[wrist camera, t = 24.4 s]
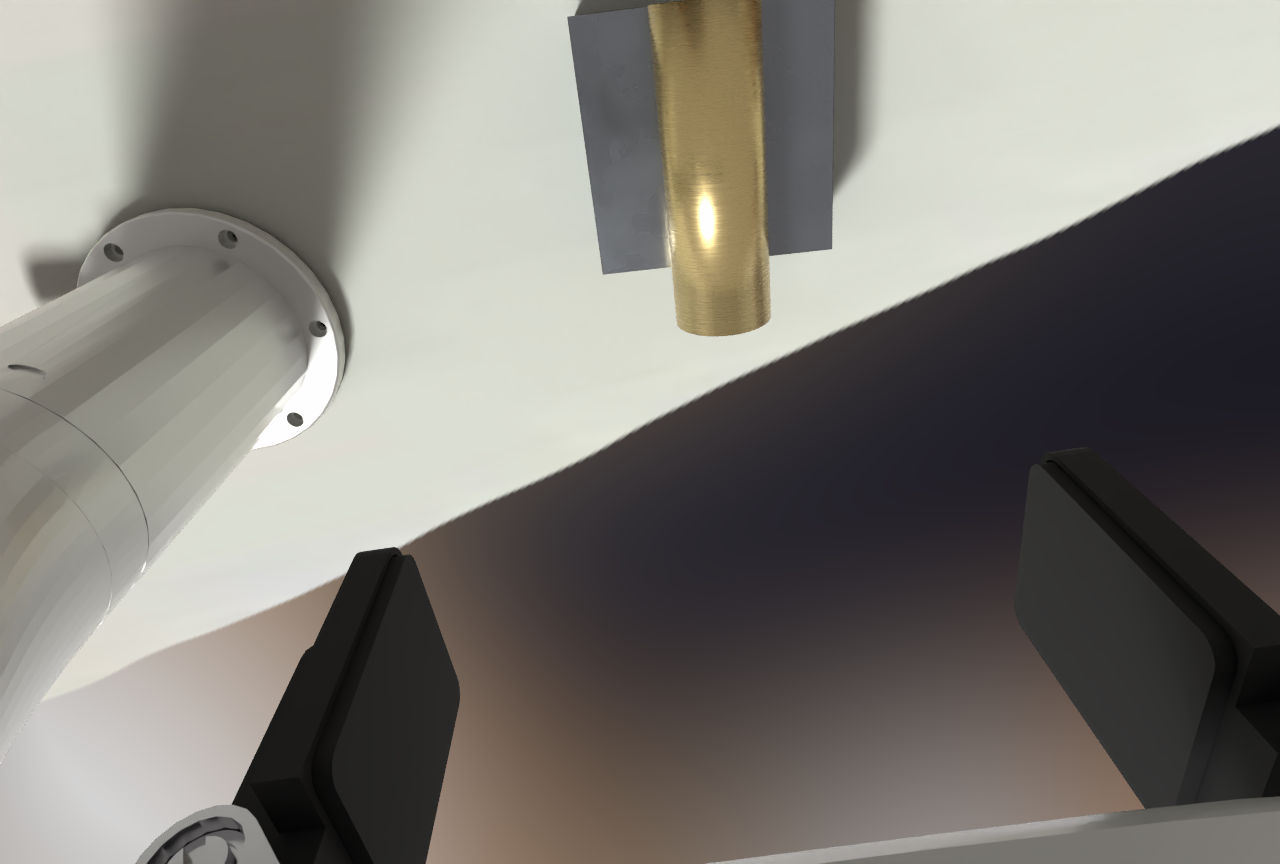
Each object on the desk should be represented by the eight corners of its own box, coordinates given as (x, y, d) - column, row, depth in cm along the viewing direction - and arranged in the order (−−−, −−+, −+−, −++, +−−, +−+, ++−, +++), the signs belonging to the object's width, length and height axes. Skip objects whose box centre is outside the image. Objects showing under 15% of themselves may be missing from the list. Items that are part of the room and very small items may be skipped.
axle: (750, 295, 35) (786, 324, 31) (665, 312, 34) (693, 343, 31) (737, -6, 29) (779, -12, 26) (635, 6, 28) (664, 3, 25)
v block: (605, 249, 37) (603, 274, 34) (574, 15, 32) (567, 17, 29) (812, 225, 37) (831, 249, 33) (812, -15, 32) (834, -18, 28)
